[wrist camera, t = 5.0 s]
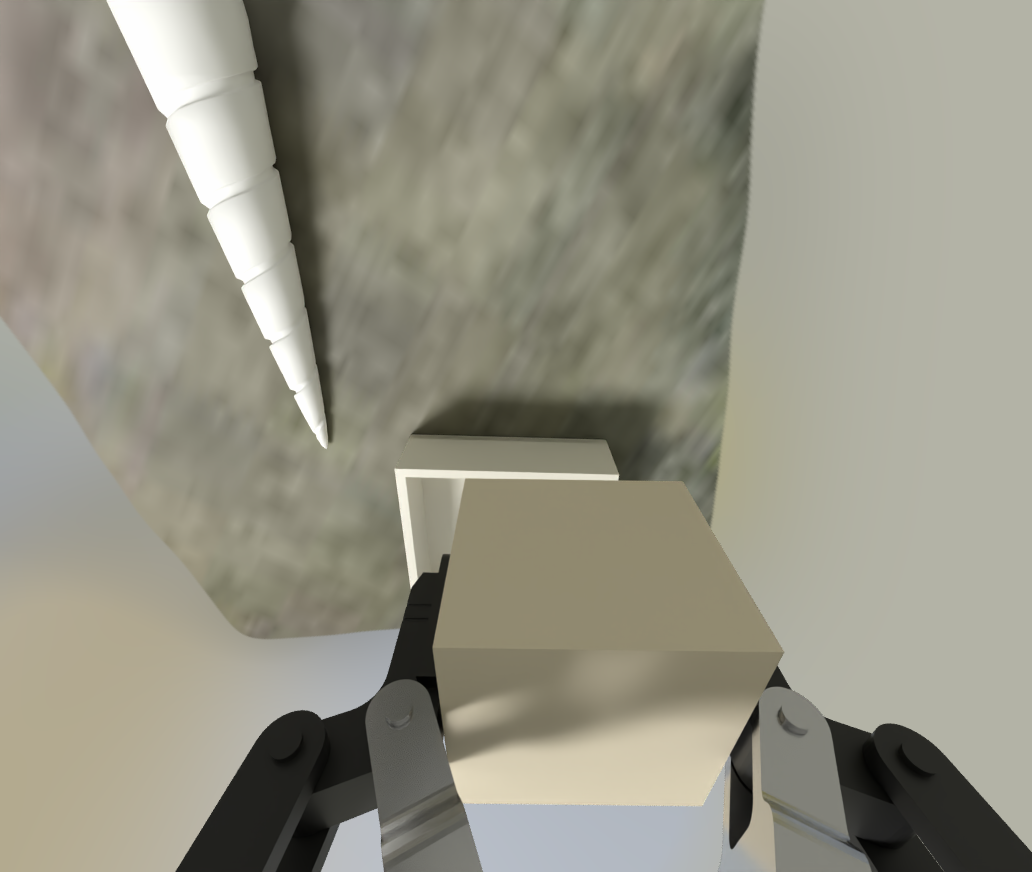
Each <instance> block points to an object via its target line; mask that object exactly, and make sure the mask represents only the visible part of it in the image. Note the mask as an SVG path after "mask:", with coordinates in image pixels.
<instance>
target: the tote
mask: <svg viewBox="0 0 1032 872" xmlns="http://www.w3.org/2000/svg"><path fill="white" fill-rule="evenodd" d="M395 475H396V482H397V490H398V497H399V505H400V512H401V519H402V527H403V534H404V542H405V549H406V557H407V564H408V571H409V579H410V586H411V588H412V586H413V585H414V584H415V582H416V581H417V580H418V578H419V577H420V576H421V575H422V573H423V572H430V573H438V572H439V567H440V563H441V558H442V555H443V554H451V549H452V544H453V539H454V533H455V528H456V523H457V518H458V513H459V508H460V502H461V497H462V492H463V487H464V482H465V478H480V479H550V480H618V478H619V473H618V471H617V468H616V465H615V463H614V460H613V457H612V455H611V452H610V449H609V447H608V444H607V441H606V440H604V439H567V438H531V437H494V436H458V435H421V434H411V436H410V438H409V440H408V442H407V444H406V446H405V448H404V450H403V452H402V454H401V457H400V459H399V461H398V463H397V465H396V467H395Z"/></svg>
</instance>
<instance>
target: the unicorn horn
mask: <svg viewBox="0 0 1032 872" xmlns="http://www.w3.org/2000/svg"><path fill="white" fill-rule="evenodd" d="M107 3H108V5H109V7H110V9H111V11H112V13H113V15H114V17H115V19H116V21H117V23H118V26H119V28H120V30H121V32H122V34H123V36H124V38H125V40H126V42H127V45H128V47H129V49H130V51H131V53H132V55H133V57H134V59H135V61H136V64H137V66H138V68H139V70H140V72H141V74H142V76H143V78H144V81H145V83H146V85H147V87H148V89H149V91H150V93H151V95H152V98H153V100H154V102H155V104H156V106H157V108H158V110H159V111H160V112H161V113H163V114H164V115H165V116H166V117H167V118H168V120H167V123H166V128H167V130H168V132H169V134H170V136H171V139H172V141H173V143H174V145H175V147H176V149H177V152H178V154H179V156H180V158H181V160H182V163H183V165H184V167H185V169H186V171H187V174H188V176H189V178H190V180H191V182H192V184H193V187H194V189H195V191H196V193H197V195H198V197H199V200H200V202H201V203H202V204H204V205H205V206H207V207H208V208H209V209H210V210H209V212H208V214H207V217H208V219H209V221H210V223H211V226H212V228H213V230H214V232H215V234H216V236H217V238H218V240H219V243H220V245H221V247H222V249H223V251H224V253H225V255H226V257H227V259H228V262H229V264H230V266H231V268H232V270H233V272H234V274H235V276H236V278H238V279H240V280H243V282H244V285H243V286H242V288H241V289H242V291H243V294H244V296H245V298H246V300H247V302H248V304H249V306H250V308H251V310H252V312H253V315H254V317H255V319H256V321H257V323H258V325H259V327H260V329H261V331H262V333H263V335H264V337H265V339H268V340H271V342H272V345H271V346H270V347H269V348H270V350H271V352H272V354H273V356H274V358H275V360H276V362H277V364H278V366H279V368H280V370H281V372H282V374H283V376H284V378H285V380H286V382H287V384H288V386H289V388H290V389H291V390H294V391H296V393H297V394H295V396H294V398H295V400H296V401H297V403H298V405H299V407H300V409H301V411H302V413H303V415H304V417H305V418H306V420H307V422H308V424H309V426H310V428H311V429H312V431H313V432H314V433H315V434H317V435H316V437H317V439H318V440H319V442H320V443H321V445H322V446H323V447H324V448H326V449H327V447H328V434H327V424H326V417H325V413H324V403H323V397H322V391H321V386H320V380H319V374H318V369H317V365H316V364H315V363H316V361H315V354H314V348H313V342H312V337H311V331H310V325H309V320H308V315H307V310H306V308H305V307H304V306H305V303H304V294H303V289H302V284H301V279H300V274H299V269H298V264H297V259H296V254H295V249H294V245H293V244H292V243H291V242H290V240H291V229H290V224H289V219H288V214H287V209H286V204H285V199H284V194H283V189H282V184H281V180H280V175H279V171H278V170H277V169H275V168H274V167H273V166H272V165H273V164H275V162H276V154H275V150H274V145H273V140H272V135H271V130H270V125H269V120H268V115H267V110H266V104H265V99H264V94H263V89H262V84H261V82H260V81H259V80H256V79H255V77H254V72H253V71H254V70H256V69H257V67H258V64H257V60H256V55H255V51H254V46H253V41H252V36H251V30H250V25H249V20H248V16H247V13H246V10H245V6H244V3H243V0H107Z"/></svg>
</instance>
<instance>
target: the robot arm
mask: <svg viewBox="0 0 1032 872" xmlns="http://www.w3.org/2000/svg"><path fill="white" fill-rule="evenodd" d="M449 559H450V554H443V555H442V558H441V563H440V567H439V572H438V573H430V572H423V573H422V575H421V576H420V577H419V578H418V580H417V581H416V582H415V584H414V585H413V586H412V588H411V592H410V595H409V599H408V603H407V607H406V610H405V613H404V617H403V621H402V624H401V628H400V632H399V635H398V639H397V642H396V646H395V650H394V653H393V657H392V660H391V664H390V668H389V671H388V674H387V677H386V680H385V682H384V684H383V686H382V687H381V688H380V690H379V691H378V692H377V693H376V695H375V696H374V697H373V698H371V699H370V700H369V701H368V702H366V703H365V704H363V705H362V706H360V707H358V708H356V709H353V710H351V711H348V712H344V713H341V714H338V715H335V716H332V717H329V718H326V719H323V720H321V718H320V717H318V715H317V714H315V713H313V712H310V711H305V710H301V711H294V712H291V713H288V714H286V715H283V716H282V717H280V718H278V719H277V720H275V721H274V722H273V723H271V724H270V725H269V726H268V727H267V728H266V729H265V730H264V731H263V732H262V734H261V735H260V736H259V738H258V739H257V740H256V742H255V744H254V745H253V747H252V749H251V750H250V752H249V754H248V755H247V757H246V758H245V760H244V762H243V763H242V765H241V766H240V768H239V770H238V771H237V773H236V775H235V776H234V778H233V779H232V781H231V783H230V784H229V786H228V787H227V789H226V791H225V792H224V794H223V795H222V797H221V799H220V800H219V802H218V804H217V805H216V807H215V809H214V810H213V812H212V813H211V815H210V817H209V818H208V820H207V821H206V823H205V825H204V826H203V828H202V829H201V831H200V833H199V835H198V836H197V838H196V839H195V841H194V842H193V844H192V846H191V847H190V849H189V851H188V852H187V854H186V855H185V857H184V859H183V860H182V862H181V864H180V865H179V867H178V868H177V870H176V872H321V869H322V867H323V865H324V862H325V860H326V857H327V855H328V852H329V850H330V847H331V845H332V842H333V840H334V837H335V834H336V832H337V830H338V827H339V824H340V823H342V822H344V821H347V820H349V819H351V818H354V817H357V816H359V815H362V814H364V813H366V812H369V811H372V810H374V809H377V808H378V814H379V821H380V828H381V849H382V859H383V867H384V872H483V871H482V867H481V864H480V860H479V857H478V853H477V850H476V846H475V843H474V840H473V836H472V832H471V829H470V825H469V822H468V819H467V815H466V812H465V809H464V806H463V803H462V800H461V798H460V797H459V795H458V792H457V790H456V786H455V783H454V779H453V776H452V772H451V769H450V765H449V762H448V758H447V755H446V751H445V748H444V744H443V736H444V730H443V723H442V715H441V708H440V700H439V693H438V685H437V678H436V670H435V663H434V655H433V642H434V637H435V632H436V627H437V622H438V616H439V611H440V606H441V601H442V596H443V591H444V585H445V580H446V575H447V570H448V565H449ZM723 818H724V819H723V845H722V856H721V862H720V866H719V869H718V872H1032V852H1031V851H1030V850H1029V849H1028V848H1027V846H1026V845H1025V844H1024V843H1023V842H1022V841H1021V840H1020V839H1019V838H1018V836H1017V835H1016V834H1015V833H1014V832H1013V831H1012V830H1011V829H1010V827H1009V826H1008V825H1007V824H1006V823H1005V822H1004V821H1003V820H1002V819H1001V817H1000V816H999V815H998V814H997V813H996V812H995V811H994V810H993V809H992V807H991V806H990V805H989V804H988V803H987V802H986V801H985V800H984V798H983V797H982V796H981V795H980V794H979V793H978V792H977V791H976V790H975V788H974V787H973V786H972V785H971V784H970V783H969V782H968V781H967V780H966V779H965V777H964V776H963V775H962V774H961V773H960V772H959V771H958V770H957V768H956V767H955V766H954V765H953V764H952V763H951V762H950V761H949V759H948V758H947V757H946V756H945V755H944V754H943V753H942V752H941V751H940V750H939V749H938V748H937V747H936V746H935V745H934V744H932V743H931V742H930V741H929V740H927V739H926V738H925V737H923V736H921V735H920V734H918V733H917V732H915V731H913V730H911V729H909V728H906V727H904V726H901V725H897V724H883V725H880V726H879V727H878V728H876V730H875V731H874V732H873V733H872V734H871V733H868V732H866V731H862V730H860V729H857V728H854V727H850V726H848V725H845V724H841V723H839V722H836V721H833V720H830V719H828V718H826V717H824V716H823V715H822V714H821V713H820V711H819V710H818V709H817V708H816V707H815V706H814V705H813V704H812V703H811V702H810V701H809V700H808V699H806V698H805V697H803V696H802V695H800V694H799V693H797V692H795V691H793V690H791V688H790V687H789V685H788V683H787V682H786V680H785V678H784V676H783V675H782V673H781V671H780V669H779V668H778V666H777V667H776V669H775V671H774V673H773V674H772V676H771V678H770V680H769V682H768V684H767V686H766V688H765V689H764V691H763V693H762V695H761V697H760V699H759V701H758V703H757V704H756V706H755V708H754V710H753V712H752V714H751V716H750V718H749V719H748V721H747V723H746V725H745V727H744V729H743V731H742V732H741V734H740V736H739V738H738V740H737V742H736V744H735V746H734V747H733V749H732V751H731V753H730V755H729V757H728V759H727V761H726V762H725V788H724V817H723ZM916 834H917V835H918V836H917V835H916ZM919 838H920V839H921V840H920V839H919ZM922 842H923V843H924V844H923V843H922ZM924 845H925V846H926V847H927V848H926V847H925V846H924ZM927 849H928V850H929V851H930V852H929V851H928V850H927ZM930 853H931V854H932V855H931V854H930ZM933 857H934V858H935V859H934V858H933ZM936 861H937V862H938V863H937V862H936ZM938 864H939V865H940V866H941V867H940V866H939V865H938ZM941 868H942V869H943V870H944V871H943V870H942V869H941Z"/></svg>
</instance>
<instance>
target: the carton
mask: <svg viewBox="0 0 1032 872" xmlns="http://www.w3.org/2000/svg"><path fill="white" fill-rule="evenodd" d="M783 654H784V651H783V650H782V647H781V646H780V644H779V643H778V641H777V639H776V638H775V636H774V634H773V632H772V631H771V629H770V627H769V626H768V624H767V622H766V621H765V619H764V617H763V616H762V614H761V612H760V611H759V609H758V607H757V606H756V604H755V602H754V601H753V599H752V597H751V595H750V594H749V592H748V590H747V589H746V587H745V586H744V584H743V582H742V581H741V579H740V577H739V575H738V574H737V572H736V570H735V569H734V567H733V565H732V564H731V562H730V560H729V559H728V557H727V555H726V554H725V552H724V550H723V548H722V547H721V545H720V543H719V542H718V540H717V538H716V537H715V535H714V533H713V532H712V530H711V528H710V527H709V525H708V523H707V522H706V520H705V518H704V517H703V515H702V513H701V511H700V510H699V508H698V506H697V505H696V503H695V501H694V500H693V498H692V496H691V495H690V493H689V491H688V490H687V488H686V486H685V485H684V483H683V481H620V480H550V479H480V478H465V482H464V487H463V492H462V497H461V502H460V508H459V513H458V518H457V523H456V528H455V533H454V539H453V544H452V549H451V554H450V559H449V565H448V570H447V575H446V580H445V585H444V591H443V596H442V601H441V606H440V611H439V616H438V622H437V627H436V632H435V637H434V642H433V655H434V663H435V670H436V678H437V685H438V693H439V700H440V708H441V715H442V723H443V730H444V737H445V745H446V752H447V758H448V762H449V765H450V769H451V772H452V776H453V779H454V783H455V786H456V790H457V792H458V795H459V797H460V798H461V800H462V803H470V804H474V803H476V804H558V805H559V804H560V805H647V806H651V805H652V806H703V804H704V802H705V800H706V798H707V796H708V794H709V792H710V791H711V789H712V787H713V785H714V783H715V781H716V779H717V777H718V776H719V774H720V772H721V770H722V768H723V766H724V764H725V762H726V761H727V759H728V757H729V755H730V753H731V751H732V749H733V747H734V746H735V744H736V742H737V740H738V738H739V736H740V734H741V732H742V731H743V729H744V727H745V725H746V723H747V721H748V719H749V718H750V716H751V714H752V712H753V710H754V708H755V706H756V704H757V703H758V701H759V699H760V697H761V695H762V693H763V691H764V689H765V688H766V686H767V684H768V682H769V680H770V678H771V676H772V674H773V673H774V671H775V669H776V667H777V665H778V663H779V661H780V659H781V658H782V656H783Z"/></svg>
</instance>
